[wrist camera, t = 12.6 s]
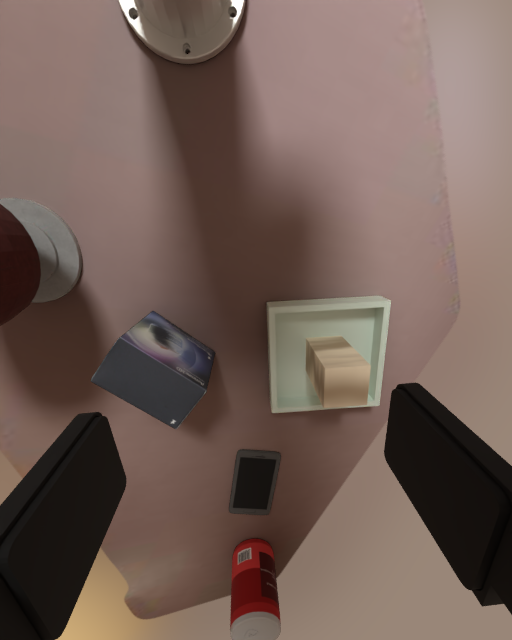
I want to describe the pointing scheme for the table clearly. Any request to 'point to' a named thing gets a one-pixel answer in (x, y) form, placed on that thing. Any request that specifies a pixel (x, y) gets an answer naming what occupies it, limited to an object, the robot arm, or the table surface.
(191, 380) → the small box
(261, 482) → the cell phone
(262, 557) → the canned food
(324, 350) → the block
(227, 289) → the table surface
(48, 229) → the mate gourd
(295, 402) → the tray
